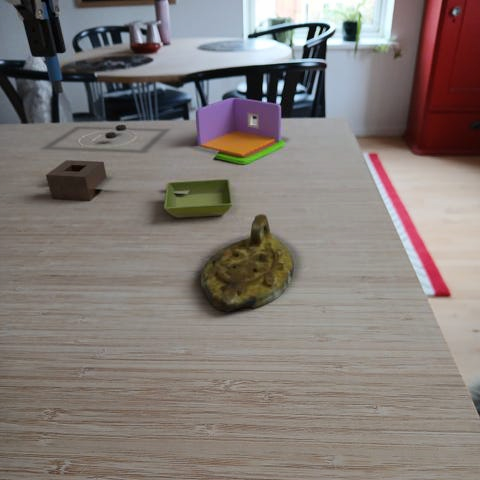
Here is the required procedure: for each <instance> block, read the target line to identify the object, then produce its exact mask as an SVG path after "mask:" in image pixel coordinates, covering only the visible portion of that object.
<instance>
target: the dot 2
mask: <svg viewBox="0 0 480 480" xmlns="http://www.w3.org/2000/svg"><path fill="white" fill-rule="evenodd" d="M115 129H116V130H115V131H117V132H123V131H124V130H127V126H126V125H125V124H118V125H116V126H115Z"/></svg>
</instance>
